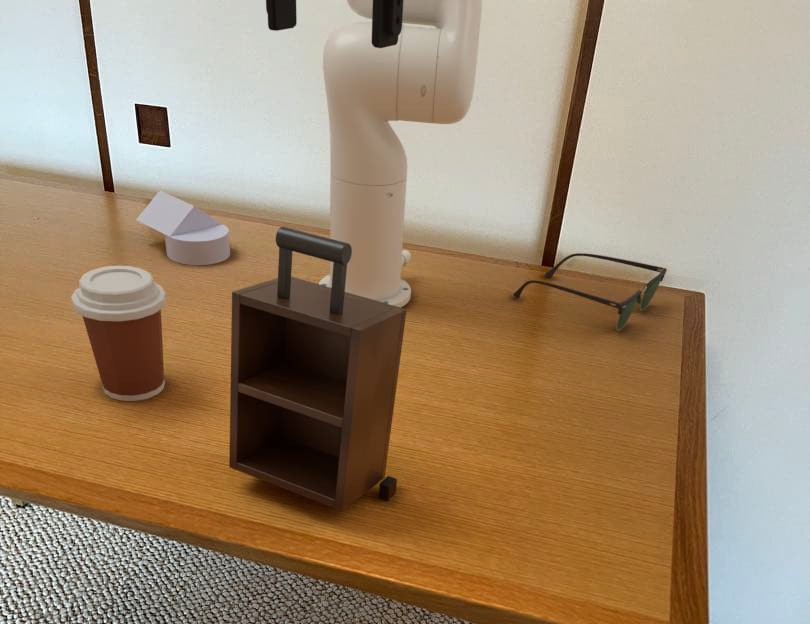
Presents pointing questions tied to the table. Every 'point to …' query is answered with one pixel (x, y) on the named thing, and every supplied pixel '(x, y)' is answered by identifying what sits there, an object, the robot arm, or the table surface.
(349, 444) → the shelf
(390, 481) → the dark brown rod
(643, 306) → the sunglasses
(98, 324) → the coffee cup
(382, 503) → the table surface
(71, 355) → the table surface
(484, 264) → the table surface
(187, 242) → the wedge on round base
